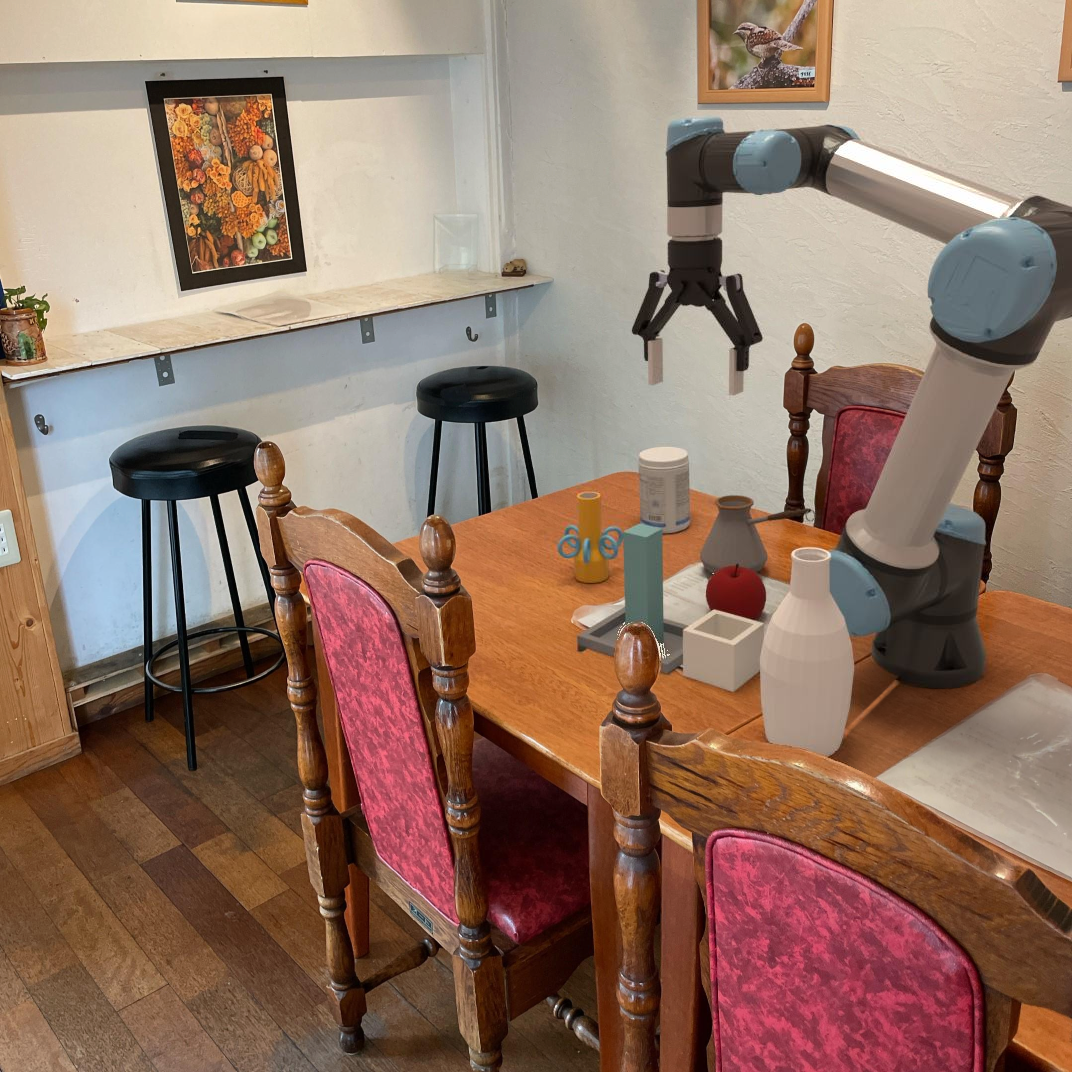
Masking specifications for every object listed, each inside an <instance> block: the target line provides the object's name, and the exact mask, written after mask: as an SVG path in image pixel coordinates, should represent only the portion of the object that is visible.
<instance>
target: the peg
mask: <svg viewBox="0 0 1072 1072" xmlns="http://www.w3.org/2000/svg"><path fill="white" fill-rule="evenodd" d="M622 533H623V541H622V544H623V548H622V549H623V577H624V580H623V582H624V586H623V587H624V607H625V625H627V624H628V623H631V622H643V623H645V624H646V625H648V626H649V627H650V628H651V630H652V631H653V633H654V635H655V638H656V639H657V641H658V643H659V644H660V643H662V642H664V626H663V618H664V558H663V556H664V555H663V553H664V552H663V549H664V548H663V547H664V546H663V545H664V544H663V533H662V528H657V527H653V526H649V525H644V524H641V522H640V523H638V524H636V525H634V526H631V527H630V528H628V529H626V530H624V531H622Z"/></svg>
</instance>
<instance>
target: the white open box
mask: <svg viewBox="0 0 1072 1072" xmlns="http://www.w3.org/2000/svg"><path fill="white" fill-rule="evenodd" d="M764 636H765V622H761V621H759V620H755V621H754V620H751V619H747V618H743V617H740V616H736V615H733V614H729V613H725V612H722V611H718V610H712V611H711V610H710V611H709V612H707V613H706V614H704V615H703V616H701V618H698V619H697V620H696V621H694V622H693V623H691V624H690V625H688V627H687V628H685V629H684V630H683V664H682V676H684V677H687V678H689V679H693V680H696V681H699V682H702V683H704V684H708V685H710V686H713V687H717V688H720V689H723V690H726V691H730V692H733V693H734V692H736V690H738V689H739V688H740V687H742V686H744V684H746V683H747V682H748V681H749V680H751V679H752V678H753V677H754V676H755V675H757V674H758V673H760V655H761V650H762V645H763V640H764Z"/></svg>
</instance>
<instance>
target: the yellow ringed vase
mask: <svg viewBox="0 0 1072 1072" xmlns="http://www.w3.org/2000/svg"><path fill="white" fill-rule="evenodd" d="M601 500H602V498H601V493H599V492H597V491H583V492H579V493H578V494H576V505H577V506H576V510H577V525H573V524H570V525H567V526H565V529H564V534H563V535H564V536H563V537H562V536H561V538H560V540H559V541H558V543H557V552H558V554H559V555H560V556H561V557H562V558H563V559H571V558H573V568H574V569H573V570H574V571H573V572H574V578H575V580H576V581H578V582H580V583H584V584H597V583H601V582H604V581H606V580H608V579H609V575H610V567H609V566H610V565H609V563H610V562H609V560H614V559H615V558H617V556H618V554H619V547H620V546H621V544H623V530H622V529H621V528H620V527H618V526H615V525H614V526H613V525H612V526H608V527H606V528H605V529H604V530H603V529H602V528H603V526H602V501H601ZM571 530H573V531H575V532H576V534H577V535H576V534H570V531H571ZM602 530H603V531H602ZM610 532H617V535H618V539H617V540H616V539H615V538H614V537H612V536H611V535H609V533H610ZM572 540H573V541H574V542H575V543H574V542H573V541H572ZM606 540H607V541H609V542H610V543H611V544H612V545H610V544H607V543H606ZM565 542H566V544H567V545H568V546H569V547H570V548H572V549H574V550H573V551H572V552H571V553H565V552H564V551H563V545H564V544H565ZM607 550H610V551H612V550H613V552H612V554H609V553H608V551H607Z"/></svg>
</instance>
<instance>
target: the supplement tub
mask: <svg viewBox="0 0 1072 1072" xmlns="http://www.w3.org/2000/svg"><path fill="white" fill-rule="evenodd" d="M689 460H690V459H689V453H688V451H686V450H685V449H683V448H681V447H673V446H657V447H656V446H655V447H651V448H648V449H644V450H643V451H641V452H639V454H638V489H639V491H638V492H639V494H638V495H639V512H640V513H639V515H640V516H639V517H640V524H644V525H649V526H653V527H657V528H662V534H674V533H678V532H680V531H684V530H685V529H687V528H688V527H689V525H690V523H691V501H690V499H691V497H690V496H691V495H690V494H691V492H690V489H691V488H690V461H689Z"/></svg>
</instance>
